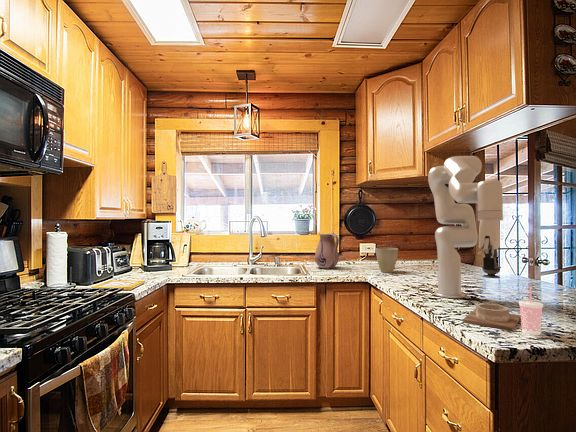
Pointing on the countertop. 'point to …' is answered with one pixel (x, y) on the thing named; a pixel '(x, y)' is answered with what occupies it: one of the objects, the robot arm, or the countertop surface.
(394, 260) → the plant pot
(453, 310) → the countertop surface
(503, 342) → the countertop surface
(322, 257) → the ceramic pitcher
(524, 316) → the beverage cup
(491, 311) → the board
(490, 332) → the countertop surface
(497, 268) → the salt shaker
